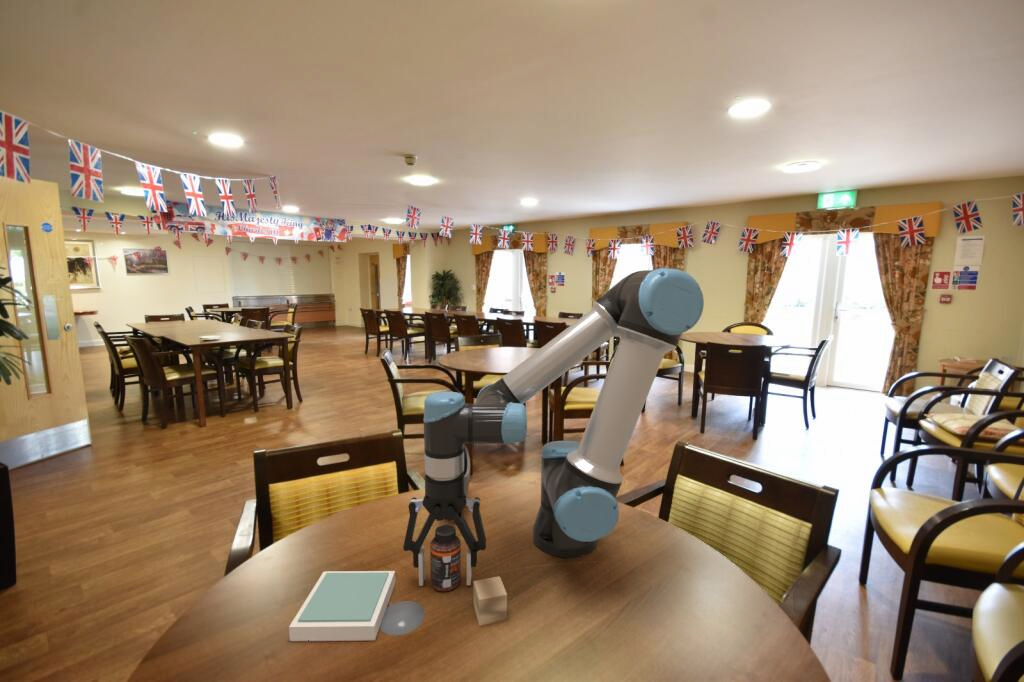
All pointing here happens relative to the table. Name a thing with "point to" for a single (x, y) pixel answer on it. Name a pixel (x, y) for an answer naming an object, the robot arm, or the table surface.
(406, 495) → the table surface
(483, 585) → the oak block
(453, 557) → the supplement bottle
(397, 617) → the coaster
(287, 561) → the table surface
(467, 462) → the grey hollow oval piece
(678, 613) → the table surface
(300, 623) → the podium
